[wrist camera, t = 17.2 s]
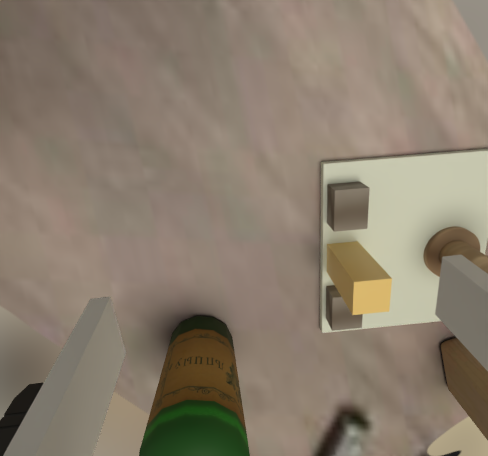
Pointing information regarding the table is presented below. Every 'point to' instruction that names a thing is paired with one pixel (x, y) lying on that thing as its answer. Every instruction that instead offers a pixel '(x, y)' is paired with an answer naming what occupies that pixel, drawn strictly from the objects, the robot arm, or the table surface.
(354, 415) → the table surface
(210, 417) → the bottle
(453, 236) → the bobbin
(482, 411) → the wooden block
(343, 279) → the yellow rectangular block
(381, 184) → the board
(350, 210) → the notch board
